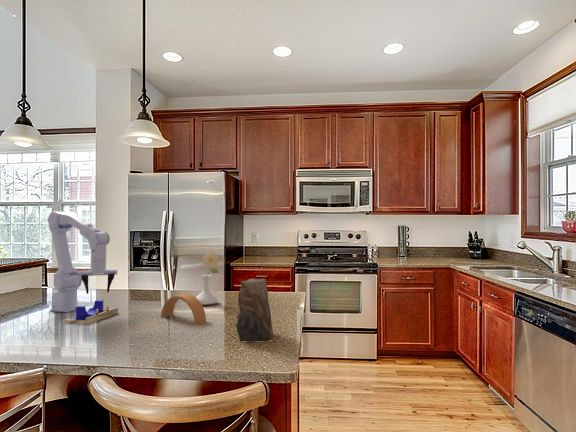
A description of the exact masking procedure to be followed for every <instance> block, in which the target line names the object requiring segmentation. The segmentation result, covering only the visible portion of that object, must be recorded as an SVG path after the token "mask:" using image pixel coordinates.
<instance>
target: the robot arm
mask: <svg viewBox="0 0 576 432" xmlns="http://www.w3.org/2000/svg"><path fill="white" fill-rule="evenodd" d="M47 222H48V223H47V224H48V227H49V228H48V229H49V231H50V232H51V236H52V241H53V246H54V247H53V248H54V251H55V257H56V261H57V266H58V269H57V270H56V272H55V273H54V274H53V282H52V283H53V287H54V289H55V290H54V291H53V292H52V296H51V309H50V310H49V311H50V312H60V313H70V312H73V311H76V306H78V289H80V286H82V283H83V286H84V287H85V292H86V294H89V277H91V276H92V277H93V276H107V287H106V293H110V287H111V285H112V283H113V281H114V279H115V275H116V276H117V275H118V269H107V245H109V243H110V241H111V239H110V234H109V233H108V231H101V230H100V229H99V228H96V227H95V226H94V225H93V223H85V222H84V221H83V220H82V219H81V218H79V215H78V214H77V213H75V212H74V211H54V210H53V211H51V212H50V213H49V215H48V217H47ZM73 227H74V229H77V230H79V232H78V233H79V234H80V236H82V237H83V238H85V239H86V240H87V241H88V245H89V250H90V270H80V271H79V269H77V268H76V267H74V266H73V263H72V258H71V257H72V256H71V252H70V249H69V248H70V247H69V244H68V239H67V233H68V232H69V231H71V229H72V228H73Z"/></svg>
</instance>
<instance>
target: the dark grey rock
mask: <svg viewBox="0 0 576 432" xmlns="http://www.w3.org/2000/svg"><path fill="white" fill-rule="evenodd" d="M240 285H241V286H240V288H239V291H238V297H237V303H238V304H237V305H238V308H239V312H238V314H237V315H236V318H237V320H236V321H237V322H236V329H237V335H238V337H239V342H240V341H269V340H273V341H274V330H273V324H272V323H273V322H272V316H271V315H272V314H271V309H270V303H269V289H268V283H267V279H266V278H265V277H263V278H255V277H253V278H249V279H248V280H241V281H240Z"/></svg>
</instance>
